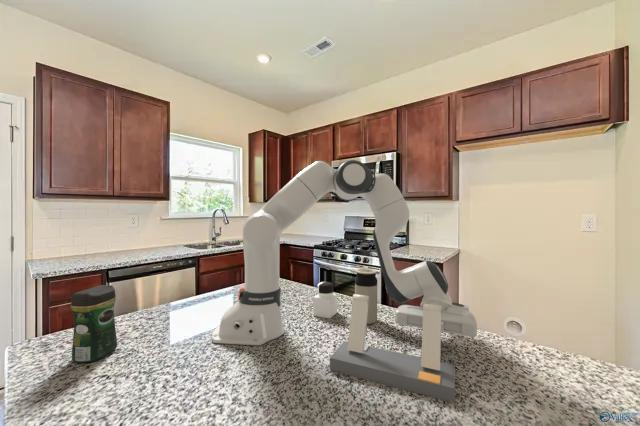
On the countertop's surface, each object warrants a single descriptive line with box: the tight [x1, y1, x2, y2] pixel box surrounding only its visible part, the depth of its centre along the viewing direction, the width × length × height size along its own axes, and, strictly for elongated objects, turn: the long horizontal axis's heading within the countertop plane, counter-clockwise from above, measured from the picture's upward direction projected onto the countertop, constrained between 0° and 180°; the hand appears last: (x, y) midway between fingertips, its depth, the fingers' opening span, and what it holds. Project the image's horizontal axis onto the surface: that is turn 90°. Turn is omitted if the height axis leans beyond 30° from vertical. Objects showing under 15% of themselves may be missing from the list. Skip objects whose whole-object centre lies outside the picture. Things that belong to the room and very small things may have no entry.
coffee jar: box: [70, 284, 118, 364], centre depth 77 cm, size 10×8×19 cm
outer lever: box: [420, 304, 442, 370], centre depth 67 cm, size 4×2×14 cm, turn 65°
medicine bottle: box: [312, 281, 338, 319], centre depth 108 cm, size 7×7×12 cm
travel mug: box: [354, 267, 378, 325], centre depth 102 cm, size 8×8×18 cm
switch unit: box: [329, 340, 456, 404], centre depth 69 cm, size 28×10×3 cm, turn 65°
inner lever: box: [347, 293, 369, 353], centre depth 75 cm, size 4×2×14 cm, turn 65°
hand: (432, 330), depth 70 cm, fingers closed
